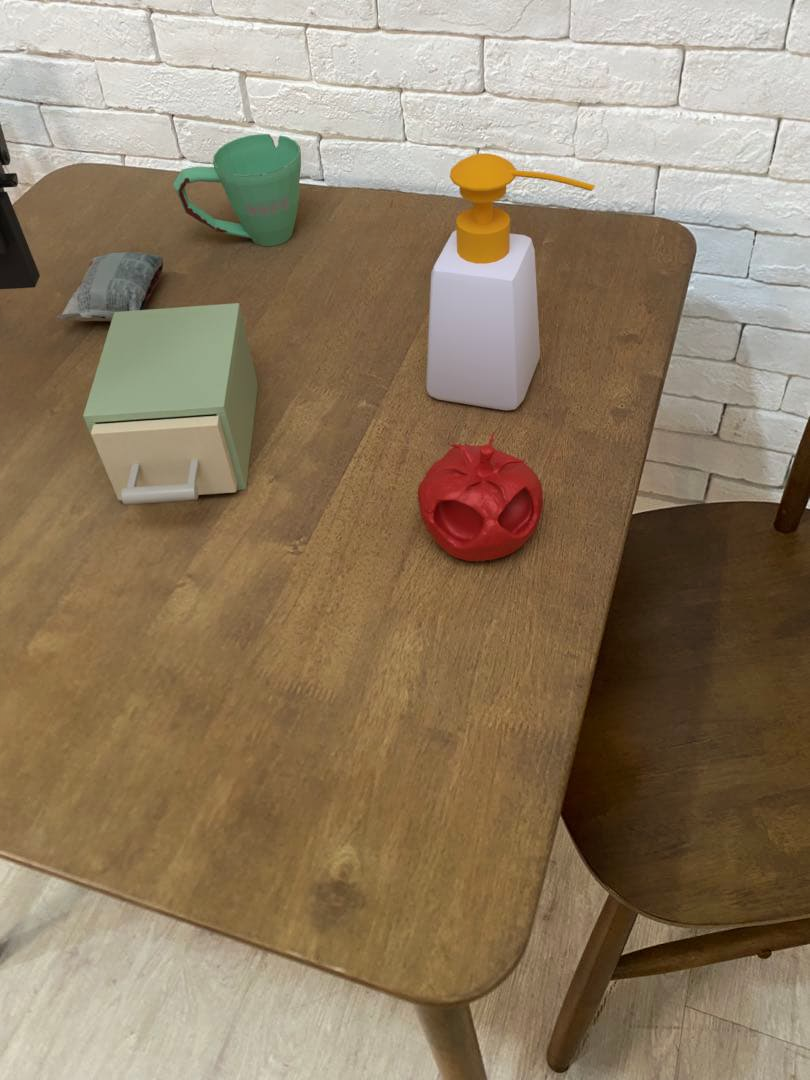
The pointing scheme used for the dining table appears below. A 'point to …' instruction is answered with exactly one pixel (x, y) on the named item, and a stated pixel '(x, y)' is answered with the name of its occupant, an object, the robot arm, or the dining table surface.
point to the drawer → (165, 458)
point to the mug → (251, 187)
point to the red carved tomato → (480, 502)
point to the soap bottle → (485, 295)
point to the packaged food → (114, 286)
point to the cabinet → (179, 372)
